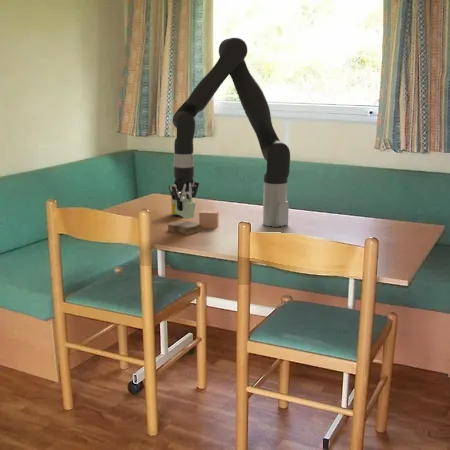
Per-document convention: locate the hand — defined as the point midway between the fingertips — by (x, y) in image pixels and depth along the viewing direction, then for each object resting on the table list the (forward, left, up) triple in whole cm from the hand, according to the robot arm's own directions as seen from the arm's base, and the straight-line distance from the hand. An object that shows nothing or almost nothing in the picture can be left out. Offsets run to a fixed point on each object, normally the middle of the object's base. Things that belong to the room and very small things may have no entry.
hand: (184, 209), depth 243 cm
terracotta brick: (-2, -11, -8) cm, 14 cm away
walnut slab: (0, 0, -9) cm, 9 cm away
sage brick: (0, 0, -2) cm, 2 cm away
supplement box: (+20, -15, -9) cm, 26 cm away
